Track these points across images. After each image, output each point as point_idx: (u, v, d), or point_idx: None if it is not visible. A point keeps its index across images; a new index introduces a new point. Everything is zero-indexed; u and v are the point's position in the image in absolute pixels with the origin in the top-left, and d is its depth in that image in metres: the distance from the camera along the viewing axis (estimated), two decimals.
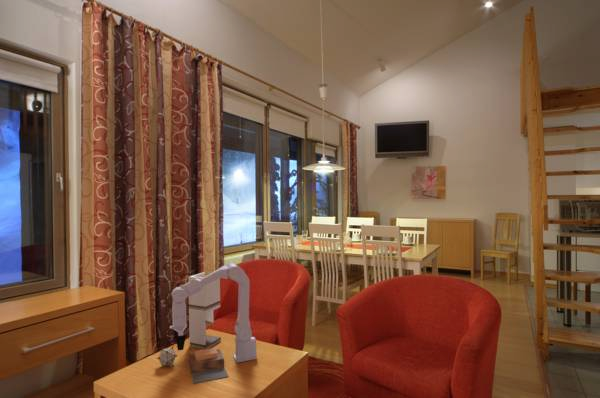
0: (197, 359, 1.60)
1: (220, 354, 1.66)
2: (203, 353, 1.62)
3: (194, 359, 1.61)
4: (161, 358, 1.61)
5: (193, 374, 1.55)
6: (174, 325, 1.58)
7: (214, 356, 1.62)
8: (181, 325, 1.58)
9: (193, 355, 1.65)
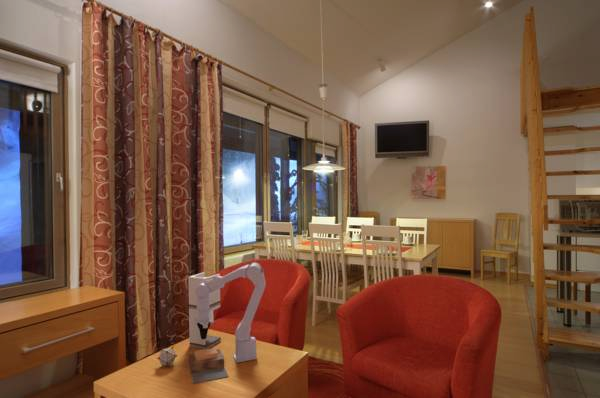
0: (197, 359, 1.60)
1: (220, 354, 1.66)
2: (203, 353, 1.62)
3: (194, 359, 1.61)
4: (161, 358, 1.61)
5: (193, 374, 1.55)
6: (198, 318, 1.68)
7: (214, 356, 1.62)
8: (205, 319, 1.68)
9: (193, 355, 1.65)
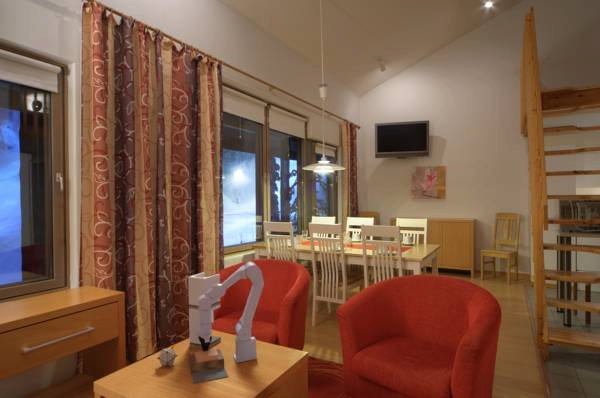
0: (197, 361, 1.58)
1: (220, 354, 1.66)
2: (204, 355, 1.60)
3: (194, 359, 1.61)
4: (161, 358, 1.61)
5: (193, 374, 1.55)
6: (200, 332, 1.63)
7: (215, 358, 1.61)
8: (207, 332, 1.63)
9: (193, 355, 1.65)
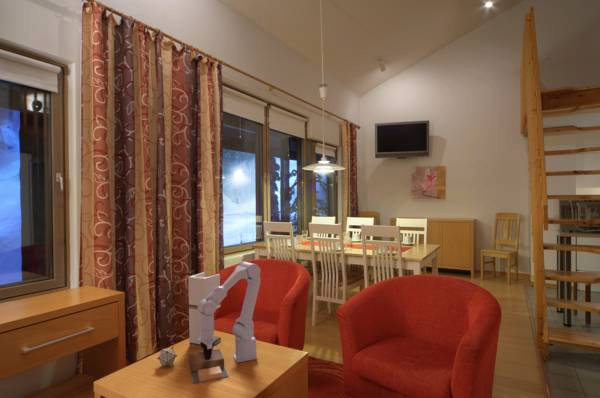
0: None
1: (220, 354, 1.66)
2: None
3: (194, 359, 1.61)
4: (161, 358, 1.61)
5: (193, 374, 1.55)
6: (202, 338, 1.57)
7: None
8: (209, 338, 1.57)
9: (193, 355, 1.65)
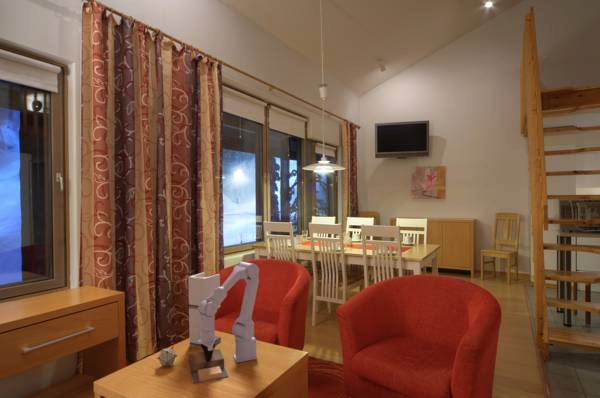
0: None
1: (220, 354, 1.66)
2: None
3: (194, 359, 1.61)
4: (161, 358, 1.61)
5: (193, 374, 1.55)
6: (203, 339, 1.55)
7: None
8: (210, 340, 1.55)
9: (193, 355, 1.65)
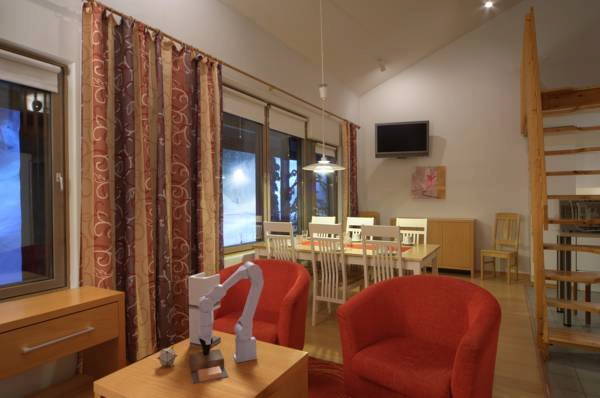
0: None
1: (220, 354, 1.66)
2: None
3: (194, 359, 1.61)
4: (161, 358, 1.61)
5: (193, 374, 1.55)
6: (201, 334, 1.61)
7: None
8: (208, 334, 1.61)
9: (193, 355, 1.65)
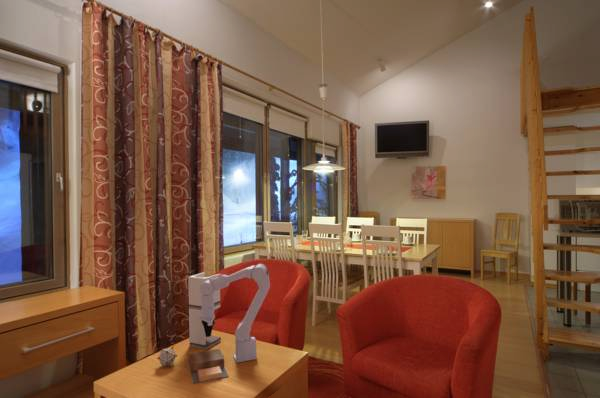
0: None
1: (220, 354, 1.66)
2: None
3: (194, 359, 1.61)
4: (161, 358, 1.61)
5: (193, 374, 1.55)
6: (203, 316, 1.68)
7: None
8: (210, 316, 1.68)
9: (193, 355, 1.65)
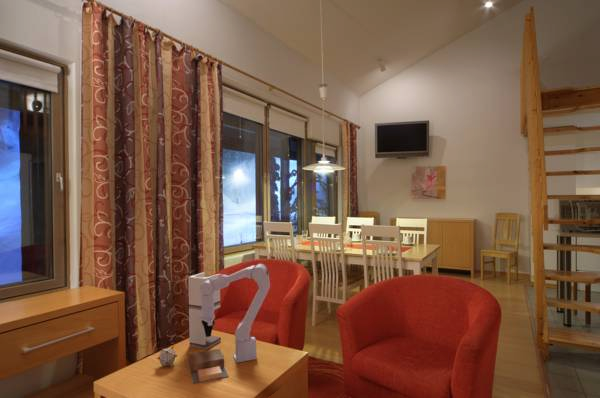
0: None
1: (220, 354, 1.66)
2: None
3: (194, 359, 1.61)
4: (161, 358, 1.61)
5: (193, 374, 1.55)
6: (203, 316, 1.68)
7: None
8: (210, 316, 1.68)
9: (193, 355, 1.65)
